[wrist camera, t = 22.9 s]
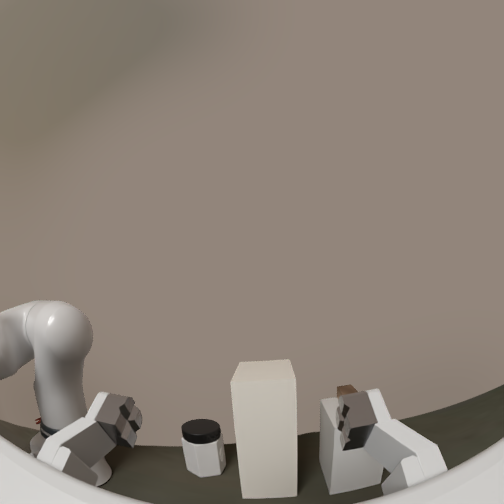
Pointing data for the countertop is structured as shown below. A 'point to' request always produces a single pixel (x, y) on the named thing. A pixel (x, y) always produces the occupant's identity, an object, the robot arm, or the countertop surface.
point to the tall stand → (266, 428)
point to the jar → (203, 447)
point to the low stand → (343, 456)
